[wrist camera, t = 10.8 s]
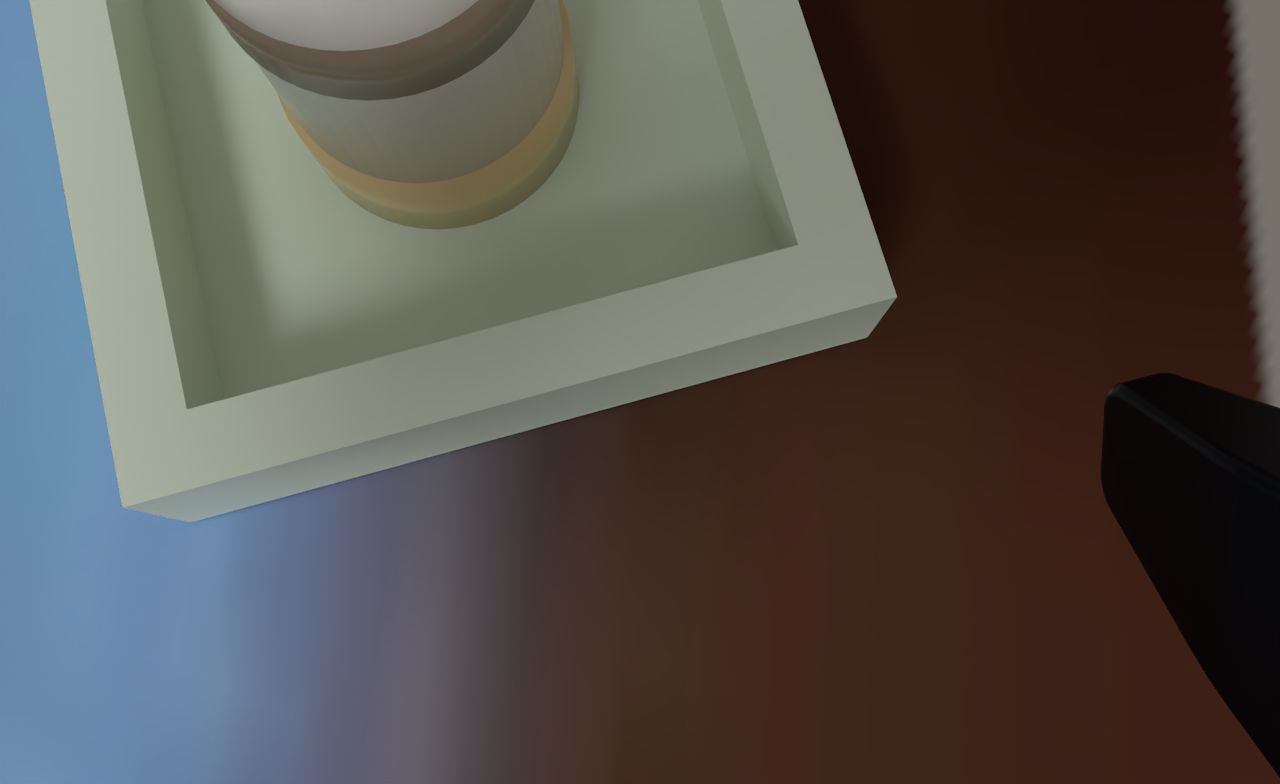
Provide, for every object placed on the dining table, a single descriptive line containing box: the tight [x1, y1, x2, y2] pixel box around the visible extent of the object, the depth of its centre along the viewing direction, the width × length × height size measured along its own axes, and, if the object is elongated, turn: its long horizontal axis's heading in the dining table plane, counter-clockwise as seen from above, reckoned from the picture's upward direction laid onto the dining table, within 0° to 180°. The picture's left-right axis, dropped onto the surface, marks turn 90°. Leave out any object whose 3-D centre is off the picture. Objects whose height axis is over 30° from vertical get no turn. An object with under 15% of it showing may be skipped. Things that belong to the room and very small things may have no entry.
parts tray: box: [29, 0, 897, 522], centre depth 16 cm, size 10×10×2 cm
